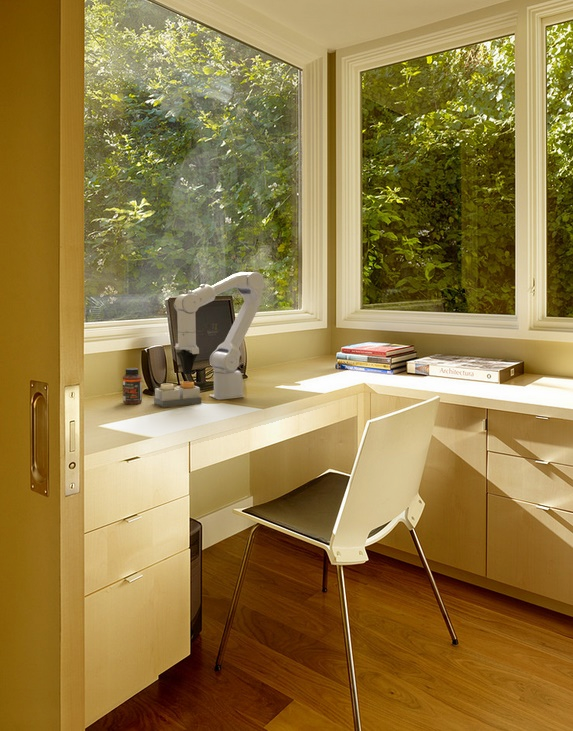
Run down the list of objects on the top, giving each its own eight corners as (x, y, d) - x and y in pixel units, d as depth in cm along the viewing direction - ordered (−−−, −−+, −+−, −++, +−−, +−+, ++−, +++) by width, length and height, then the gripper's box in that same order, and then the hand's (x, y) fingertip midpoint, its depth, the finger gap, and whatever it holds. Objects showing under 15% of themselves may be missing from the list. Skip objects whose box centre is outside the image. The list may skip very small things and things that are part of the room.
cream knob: (170, 389, 201) (170, 382, 201) (175, 391, 198) (175, 384, 198) (159, 390, 199) (158, 383, 199) (163, 392, 196) (163, 385, 196)
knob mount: (191, 399, 208) (191, 384, 207) (201, 403, 201) (201, 388, 201) (154, 403, 201) (153, 387, 200) (163, 407, 194) (162, 392, 194)
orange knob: (190, 387, 205) (190, 380, 205) (195, 389, 202) (195, 382, 201) (179, 388, 203) (179, 381, 203) (184, 390, 200) (184, 383, 199)
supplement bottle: (123, 405, 197) (122, 370, 196) (122, 401, 203) (121, 367, 201) (142, 404, 199) (141, 369, 197) (141, 401, 205) (140, 367, 203)
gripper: (166, 330, 204) (167, 371, 206) (183, 334, 192) (184, 377, 194) (186, 329, 207) (187, 370, 209) (204, 333, 195) (205, 376, 197)
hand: (187, 373), depth 202 cm, fingers closed
